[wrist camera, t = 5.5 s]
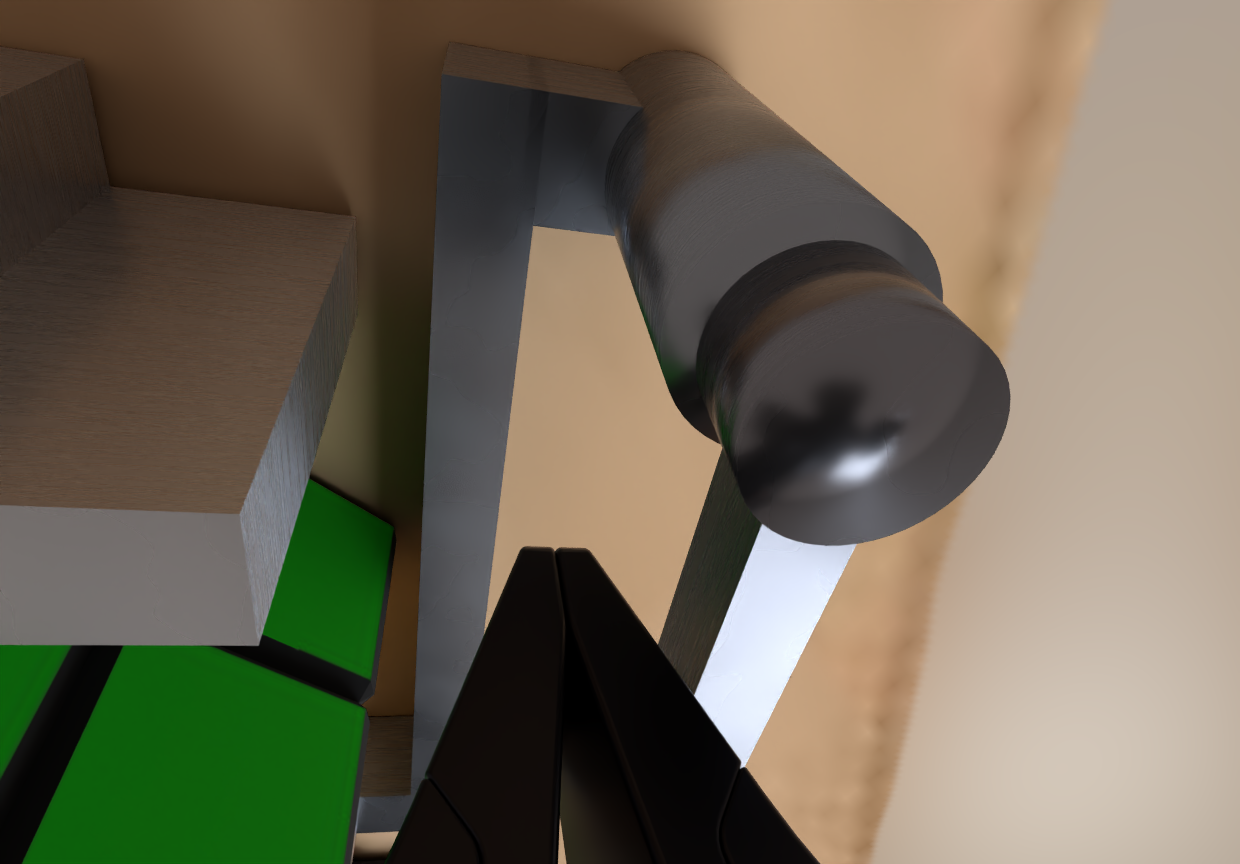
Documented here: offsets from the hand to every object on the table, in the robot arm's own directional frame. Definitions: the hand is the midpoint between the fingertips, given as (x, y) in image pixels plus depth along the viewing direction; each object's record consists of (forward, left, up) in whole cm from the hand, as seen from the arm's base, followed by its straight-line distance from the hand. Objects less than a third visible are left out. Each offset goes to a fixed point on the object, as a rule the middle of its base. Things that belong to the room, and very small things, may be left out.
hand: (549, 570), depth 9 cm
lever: (-1, -2, 0) cm, 2 cm away
